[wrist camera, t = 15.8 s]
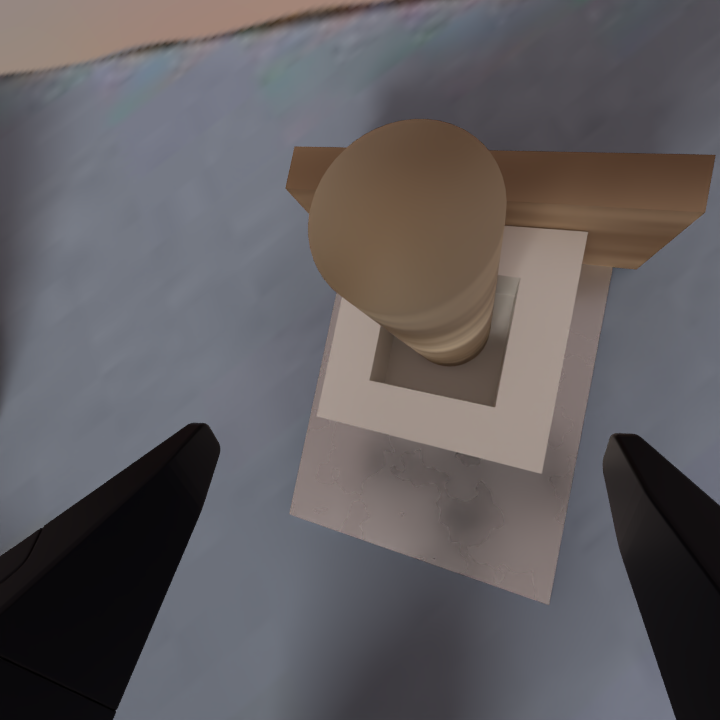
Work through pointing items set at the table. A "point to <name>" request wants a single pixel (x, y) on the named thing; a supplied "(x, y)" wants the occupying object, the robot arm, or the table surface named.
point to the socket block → (469, 363)
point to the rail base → (552, 488)
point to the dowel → (414, 234)
